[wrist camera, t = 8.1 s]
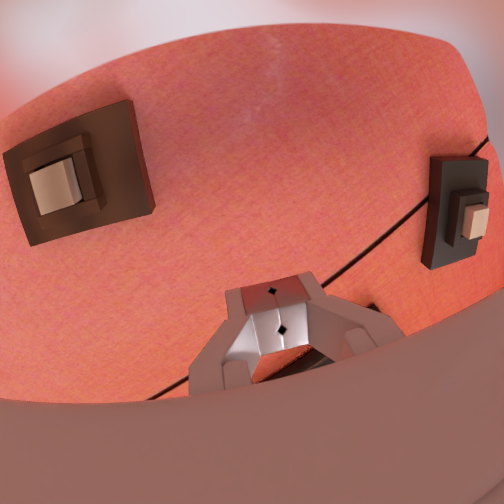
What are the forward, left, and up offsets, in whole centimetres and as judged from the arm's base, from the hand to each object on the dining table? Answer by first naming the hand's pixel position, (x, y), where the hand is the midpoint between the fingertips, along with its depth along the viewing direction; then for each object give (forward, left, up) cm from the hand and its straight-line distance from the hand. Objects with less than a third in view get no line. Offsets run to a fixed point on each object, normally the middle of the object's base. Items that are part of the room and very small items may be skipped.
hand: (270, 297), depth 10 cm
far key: (+7, +28, -14) cm, 32 cm away
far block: (+7, +28, -17) cm, 34 cm away
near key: (-4, -14, -14) cm, 20 cm away
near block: (-4, -14, -17) cm, 23 cm away
